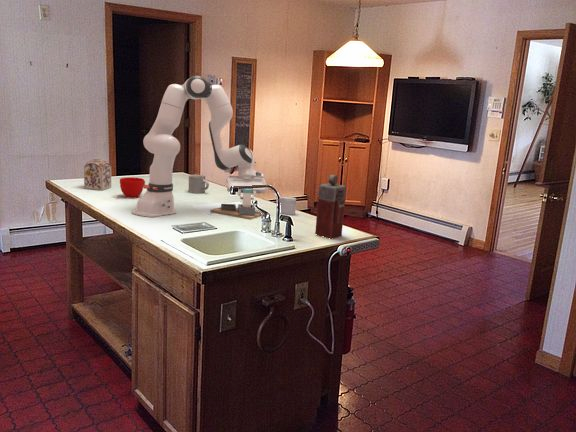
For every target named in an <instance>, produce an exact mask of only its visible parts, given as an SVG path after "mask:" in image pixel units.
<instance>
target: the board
mask: <svg viewBox="0 0 576 432" xmlns="http://www.w3.org/2000/svg"><path fill="white" fill-rule="evenodd" d="M209 212H210V213H214V214H219V215H224V216H231V217H235V218H239V219H246V220H253V219H255V218H259V217H262V216H261V213H262V212H261V211H256V210H255V216H247V215H239V214H238V207H236V211H221V206H219V207H217V208H214V209H210V211H209ZM260 212H261V213H260Z"/></svg>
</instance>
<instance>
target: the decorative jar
mask: <svg viewBox="0 0 576 432" xmlns="http://www.w3.org/2000/svg"><path fill="white" fill-rule="evenodd" d="M83 187H84V189H85V190H93V191H105V190H107V189H108V190H109V189H110V188H112V165H111V163H109V161H107V160H103V158H102V157H94V158H93V159H92V160H88V161H86V163H85V165H83Z"/></svg>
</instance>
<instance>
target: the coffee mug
mask: <svg viewBox="0 0 576 432" xmlns="http://www.w3.org/2000/svg"><path fill="white" fill-rule="evenodd" d="M209 186H210V183H209V181H208V180H207V179H206V176H205V175H203V174H190V175H188V193H190V194H196V195H197V194H198V195H199V194H205V193H206V191H207V190H208V189H209Z"/></svg>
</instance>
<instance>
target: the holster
mask: <svg viewBox="0 0 576 432" xmlns="http://www.w3.org/2000/svg"><path fill="white" fill-rule="evenodd" d="M236 206H237V205H236V203H234V204H233V203H220V207H221V211H236V208H237V207H236Z"/></svg>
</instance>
